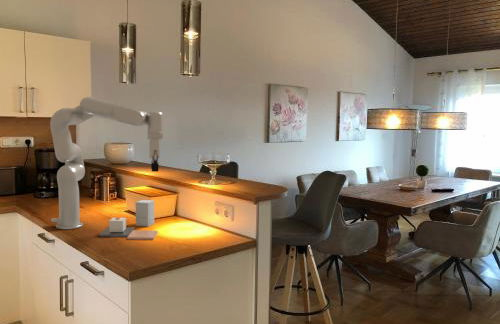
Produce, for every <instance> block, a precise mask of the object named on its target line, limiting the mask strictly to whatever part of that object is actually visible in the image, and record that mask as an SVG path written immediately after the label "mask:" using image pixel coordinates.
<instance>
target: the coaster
mask: <svg viewBox="0 0 500 324" xmlns="http://www.w3.org/2000/svg"><path fill="white" fill-rule="evenodd" d="M157 235H158V230H134V231H132V232H131V233H130V235H129V236H128V237H126V240H141V241H144V240H145V241H146V240H149V241H150V240H153V241H154V240H155V238H156V236H157Z"/></svg>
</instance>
